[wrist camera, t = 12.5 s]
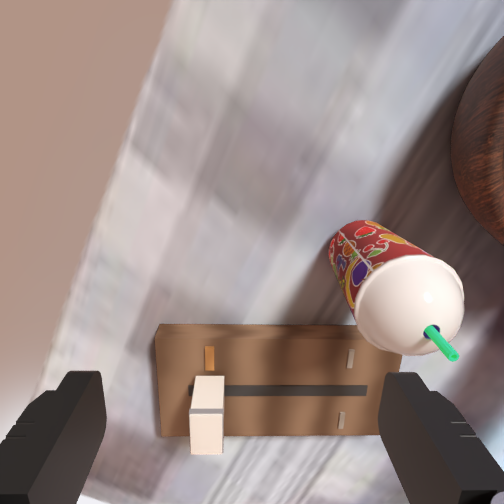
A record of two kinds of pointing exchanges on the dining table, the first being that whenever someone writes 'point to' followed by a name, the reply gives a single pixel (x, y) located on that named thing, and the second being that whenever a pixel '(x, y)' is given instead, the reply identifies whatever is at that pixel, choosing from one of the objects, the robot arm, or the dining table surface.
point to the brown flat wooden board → (274, 377)
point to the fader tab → (207, 416)
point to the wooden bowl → (482, 143)
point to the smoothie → (397, 291)
